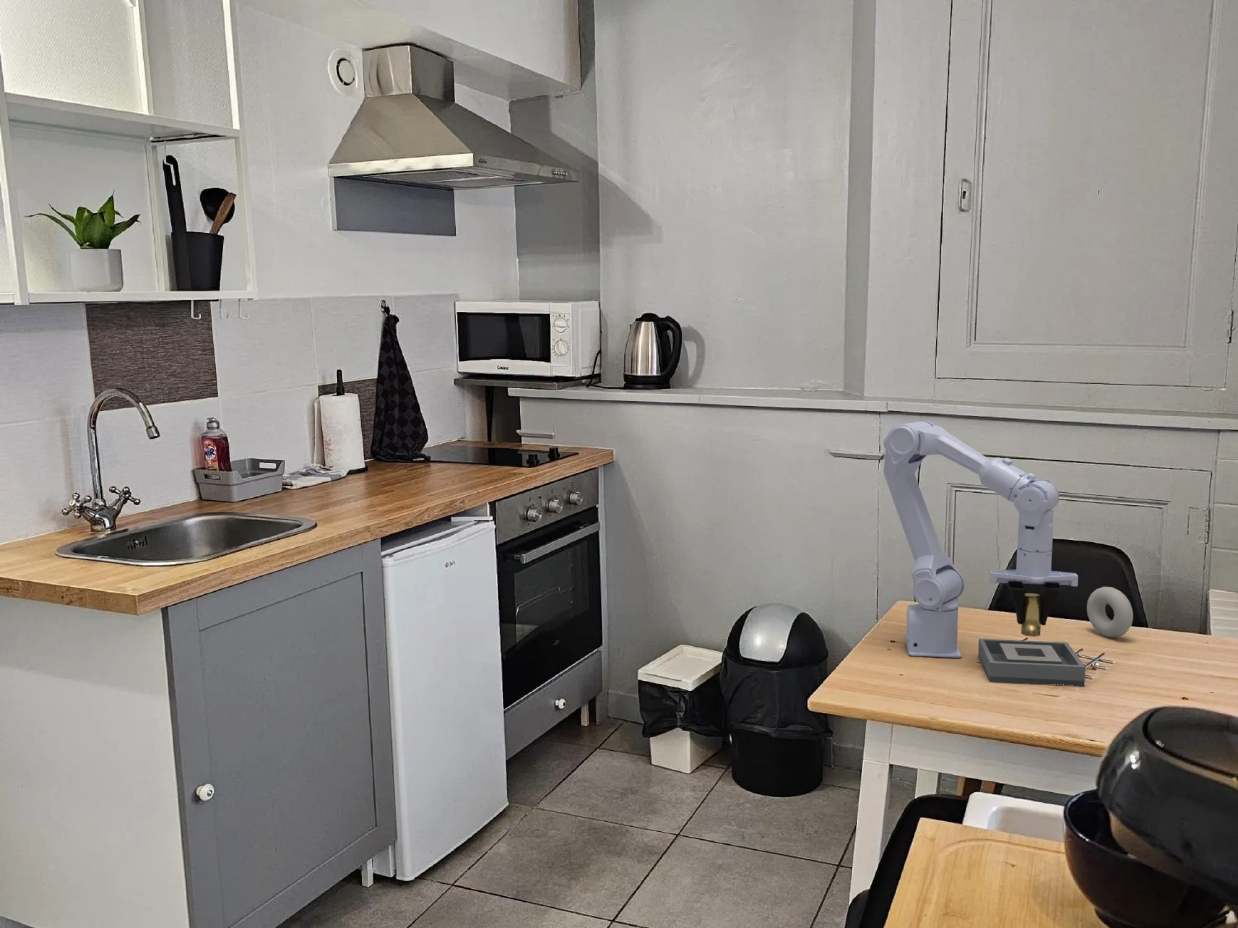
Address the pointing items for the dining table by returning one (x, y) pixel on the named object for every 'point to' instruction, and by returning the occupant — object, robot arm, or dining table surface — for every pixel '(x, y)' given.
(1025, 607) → the connector
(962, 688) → the dining table surface
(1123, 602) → the donut
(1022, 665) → the box
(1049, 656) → the inlet
